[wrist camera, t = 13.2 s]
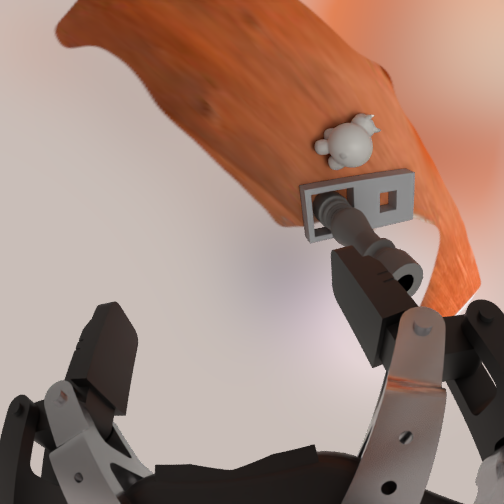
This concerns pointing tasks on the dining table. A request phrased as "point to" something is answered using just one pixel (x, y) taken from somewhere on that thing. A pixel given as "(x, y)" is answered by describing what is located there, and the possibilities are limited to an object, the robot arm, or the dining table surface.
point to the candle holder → (365, 238)
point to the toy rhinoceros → (348, 142)
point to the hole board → (364, 199)
